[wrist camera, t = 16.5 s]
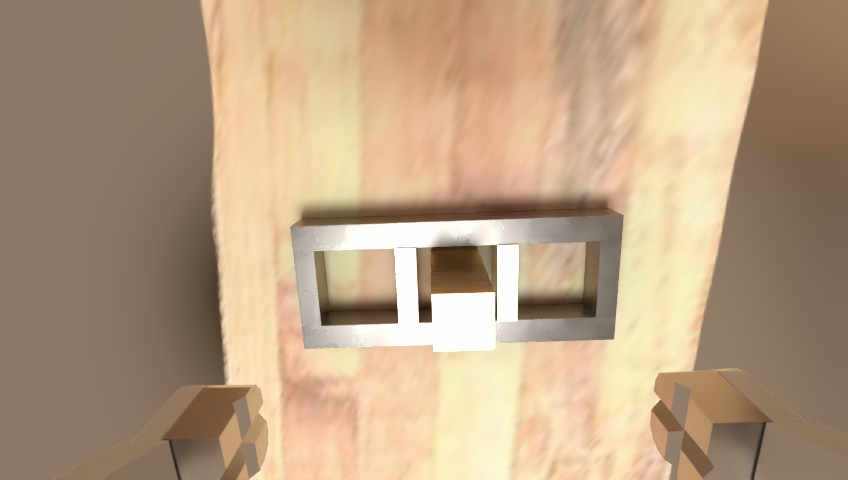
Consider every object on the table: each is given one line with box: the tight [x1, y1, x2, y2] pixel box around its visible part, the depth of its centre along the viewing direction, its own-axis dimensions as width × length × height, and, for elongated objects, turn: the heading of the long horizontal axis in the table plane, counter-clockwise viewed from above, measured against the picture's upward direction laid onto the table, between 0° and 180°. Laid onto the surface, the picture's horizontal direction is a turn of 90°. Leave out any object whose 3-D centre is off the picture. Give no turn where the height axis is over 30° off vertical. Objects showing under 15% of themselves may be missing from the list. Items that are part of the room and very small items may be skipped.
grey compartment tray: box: [290, 208, 623, 349], centre depth 36 cm, size 10×26×3 cm, turn 92°
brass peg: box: [431, 250, 495, 352], centre depth 33 cm, size 4×4×10 cm
